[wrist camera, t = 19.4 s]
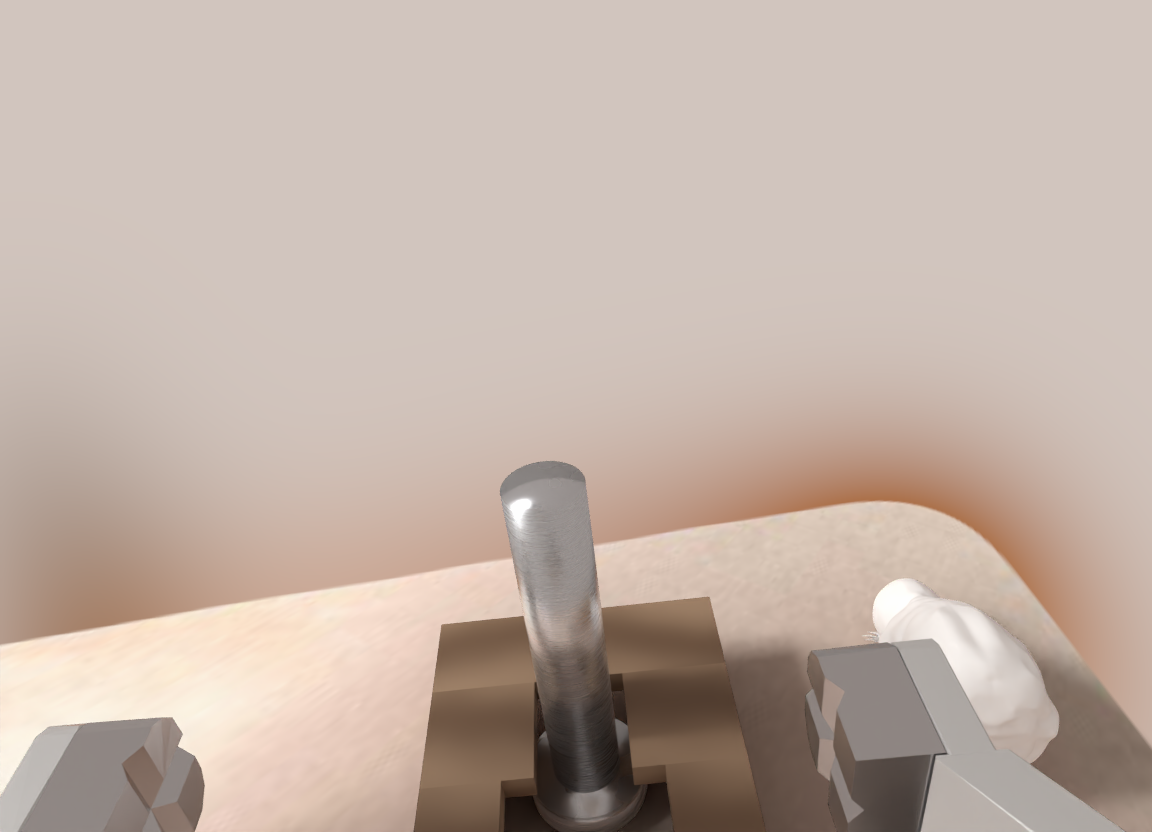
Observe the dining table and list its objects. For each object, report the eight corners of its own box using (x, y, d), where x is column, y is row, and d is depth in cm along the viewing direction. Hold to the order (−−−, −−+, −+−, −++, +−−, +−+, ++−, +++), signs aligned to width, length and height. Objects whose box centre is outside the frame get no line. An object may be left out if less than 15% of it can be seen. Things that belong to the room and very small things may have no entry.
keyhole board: (803, 1076, 30) (809, 1010, 27) (415, 1110, 30) (384, 1048, 28) (711, 663, 46) (709, 596, 44) (459, 689, 46) (441, 624, 44)
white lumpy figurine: (918, 685, 33) (843, 516, 44) (903, 831, 37) (837, 642, 48) (1086, 677, 33) (967, 508, 43) (1053, 825, 36) (952, 636, 47)
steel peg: (515, 822, 39) (442, 524, 30) (554, 724, 44) (501, 438, 34) (630, 851, 38) (592, 544, 28) (659, 746, 42) (634, 450, 33)
